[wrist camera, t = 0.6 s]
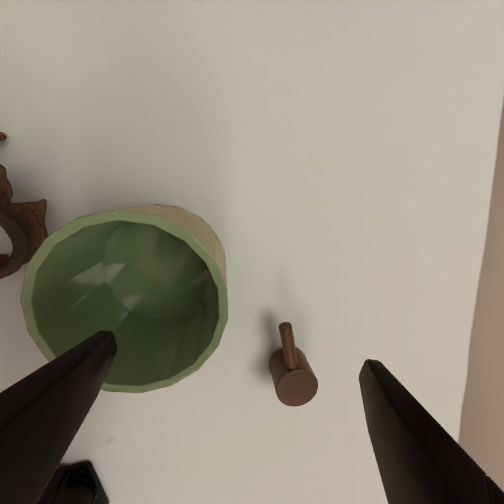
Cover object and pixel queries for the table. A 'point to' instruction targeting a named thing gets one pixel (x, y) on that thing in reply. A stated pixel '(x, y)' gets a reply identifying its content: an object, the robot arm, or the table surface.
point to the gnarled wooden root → (20, 226)
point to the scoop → (292, 371)
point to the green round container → (131, 292)
